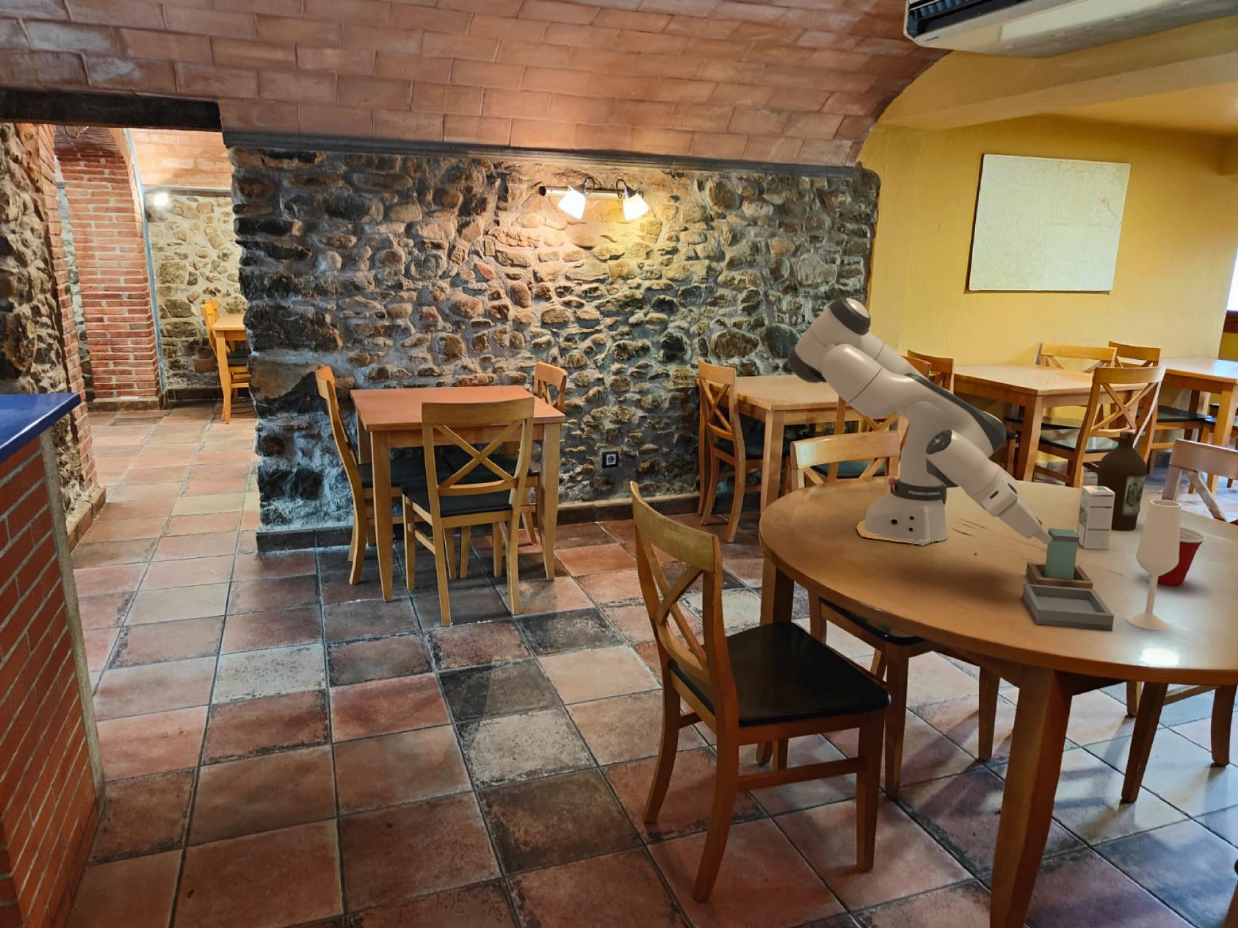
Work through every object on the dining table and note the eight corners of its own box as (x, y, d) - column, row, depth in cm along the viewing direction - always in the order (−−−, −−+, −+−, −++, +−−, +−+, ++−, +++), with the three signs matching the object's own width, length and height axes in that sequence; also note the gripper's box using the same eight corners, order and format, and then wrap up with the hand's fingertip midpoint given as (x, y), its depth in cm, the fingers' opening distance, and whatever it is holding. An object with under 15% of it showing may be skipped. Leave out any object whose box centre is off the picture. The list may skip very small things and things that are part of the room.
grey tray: (1036, 623, 153) (1037, 609, 152) (1022, 597, 165) (1023, 583, 164) (1112, 630, 149) (1114, 615, 148) (1092, 602, 161) (1094, 589, 160)
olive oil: (1082, 522, 210) (1093, 430, 204) (1108, 516, 215) (1120, 426, 209) (1121, 534, 201) (1134, 438, 195) (1147, 527, 205) (1161, 433, 199)
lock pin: (1047, 588, 169) (1053, 535, 166) (1042, 580, 173) (1048, 528, 170) (1072, 590, 167) (1079, 537, 165) (1066, 582, 172) (1073, 529, 169)
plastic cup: (1200, 596, 163) (1209, 541, 161) (1138, 586, 169) (1145, 532, 166) (1196, 578, 172) (1205, 526, 169) (1137, 569, 178) (1144, 519, 175)
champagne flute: (1122, 613, 156) (1138, 496, 150) (1161, 616, 154) (1179, 499, 149) (1132, 627, 150) (1150, 507, 144) (1173, 631, 148) (1193, 509, 142)
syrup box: (1109, 549, 190) (1117, 492, 187) (1082, 548, 191) (1089, 491, 188) (1100, 542, 196) (1107, 485, 192) (1074, 540, 197) (1081, 485, 193)
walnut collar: (1036, 592, 167) (1037, 579, 166) (1025, 574, 177) (1027, 561, 176) (1091, 596, 164) (1093, 583, 163) (1077, 578, 174) (1079, 565, 173)
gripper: (976, 485, 179) (1023, 526, 178) (989, 515, 160) (1041, 560, 159) (998, 466, 176) (1045, 507, 176) (1014, 494, 157) (1067, 540, 157)
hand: (1044, 533), depth 167 cm, fingers open, 8 cm apart
